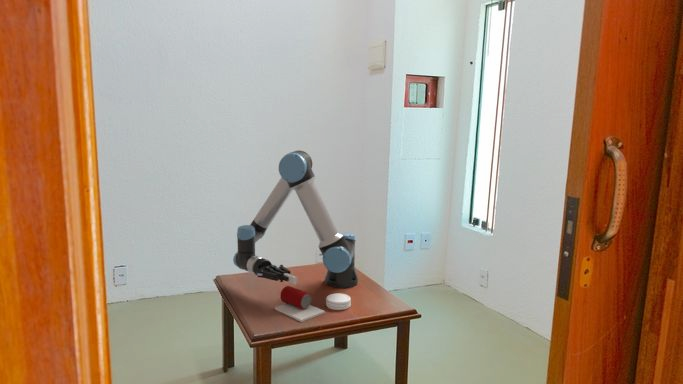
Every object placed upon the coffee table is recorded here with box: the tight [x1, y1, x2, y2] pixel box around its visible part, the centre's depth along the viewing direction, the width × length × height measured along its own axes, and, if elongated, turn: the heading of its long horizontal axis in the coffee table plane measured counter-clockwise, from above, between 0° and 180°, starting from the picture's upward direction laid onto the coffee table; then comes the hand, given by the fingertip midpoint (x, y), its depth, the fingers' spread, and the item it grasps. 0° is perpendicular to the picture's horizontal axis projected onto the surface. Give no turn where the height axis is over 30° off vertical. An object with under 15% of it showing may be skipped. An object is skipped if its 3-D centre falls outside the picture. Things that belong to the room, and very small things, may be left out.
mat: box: [274, 303, 326, 323], centre depth 190 cm, size 16×12×1 cm
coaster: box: [325, 293, 352, 311], centre depth 196 cm, size 10×10×4 cm
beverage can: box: [280, 285, 312, 309], centre depth 193 cm, size 7×7×12 cm
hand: (295, 280), depth 190 cm, fingers closed
